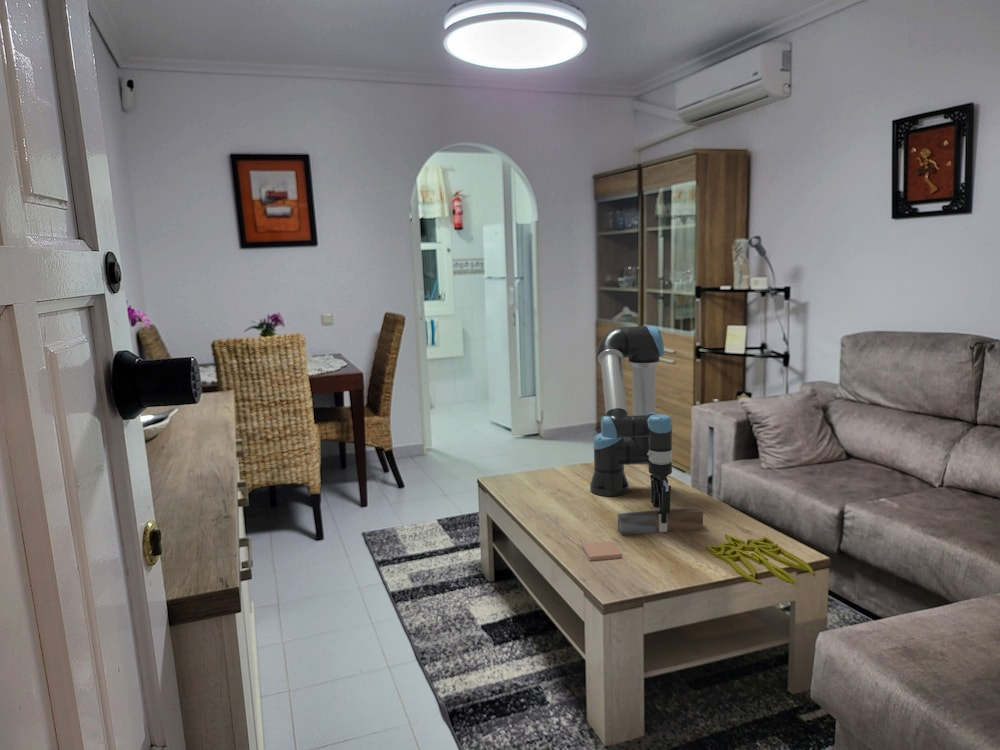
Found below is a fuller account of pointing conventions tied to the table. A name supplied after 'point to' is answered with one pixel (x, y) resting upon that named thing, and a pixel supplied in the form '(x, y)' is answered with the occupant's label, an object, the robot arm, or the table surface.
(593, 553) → the tile
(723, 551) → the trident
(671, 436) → the robot arm
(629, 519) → the brown and grey bar
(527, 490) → the table surface
